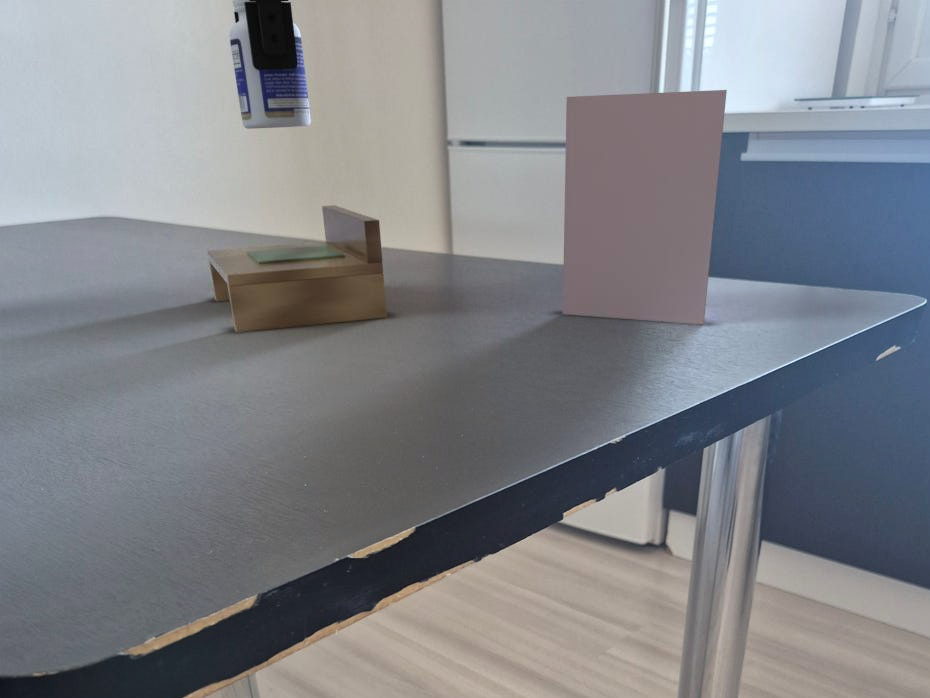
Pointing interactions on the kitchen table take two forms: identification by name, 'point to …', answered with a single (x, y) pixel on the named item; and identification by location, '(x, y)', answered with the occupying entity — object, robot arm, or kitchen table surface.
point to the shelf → (305, 277)
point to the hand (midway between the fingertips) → (269, 68)
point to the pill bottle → (268, 83)
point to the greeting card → (641, 204)
